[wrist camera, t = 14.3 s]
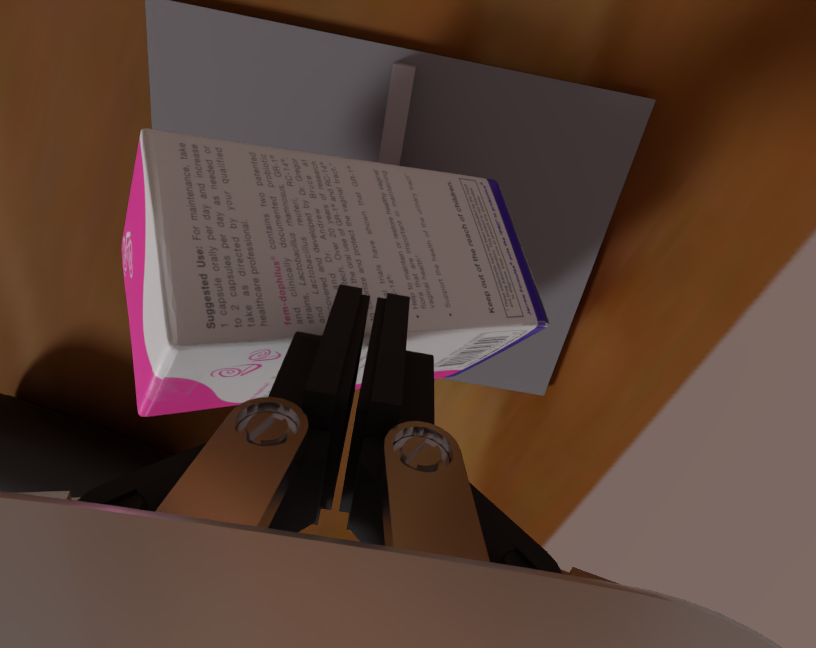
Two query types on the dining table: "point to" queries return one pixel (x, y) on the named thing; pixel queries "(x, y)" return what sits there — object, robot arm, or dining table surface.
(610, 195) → the mat
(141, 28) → the dining table surface
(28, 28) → the dining table surface
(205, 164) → the supplement box
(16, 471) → the end cap
